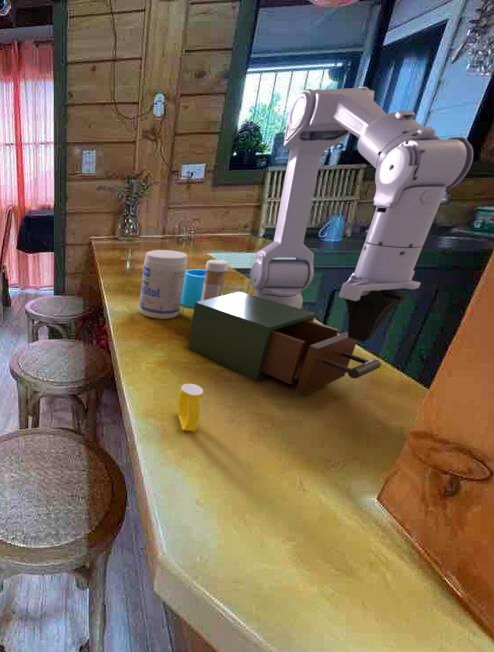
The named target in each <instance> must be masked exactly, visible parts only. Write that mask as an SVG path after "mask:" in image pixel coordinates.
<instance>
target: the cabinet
mask: <svg viewBox="0 0 494 652" xmlns="http://www.w3.org/2000/svg"><path fill="white" fill-rule="evenodd" d="M192 313H193V314H192V320H191V326H190V333H189V340H188V346H187V348H188V349H189V350H192V351H193V352H196V353H198V354H200V355H201V356H204V357H206V358H208V359H210V360H213V361H215V362H216V363H219V364H221V365H223V366H225V367H227V368H229V369H232V370H234V371H236V372H237V373H240V374H242V375H244V376H247V377H248V378H251V379H253V380H255V381H258V380H260V379H263V378H265V377H268V376H269V375H268V374H266V373H264V372H262V371H261V369H262V366H263V362H264V358H265V354H266V350H267V346H268V342H269V338H270V334H271V331H273V330H276V329H279V328H283V327H286V326H289V325H292V324H295V323H298V322H302V321H305V320H309V321H312V322H314V320H315V317H316V314H317V313H316V312H313V311H309V310H305V309H302V308H301V309H299V308H295V307H292V306H288V305H285V304H281V303H277V302H274V301H270V300H267V299H263V298H260V297H256V296H255V295H252V294H248V293H245V292H241V291H238V292H233V293H228V294H224V295H222V296H220V297H215V298H211V299H207V300H203V301H198V302H195V307H194V308H193V312H192Z"/></svg>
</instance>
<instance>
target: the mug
mask: <svg viewBox="0 0 494 652" xmlns="http://www.w3.org/2000/svg"><path fill="white" fill-rule="evenodd" d="M205 275H206V268H205V269H203V268H192V269H186V272H185V279H184V285H183V291H182V297H181V303H180V305H182V306H184V307H186V308H190V309H191V308H192V309H194V307H195V302H198V301H201V298H202V292H203V286H204V281H205Z"/></svg>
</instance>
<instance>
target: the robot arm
mask: <svg viewBox="0 0 494 652" xmlns="http://www.w3.org/2000/svg"><path fill="white" fill-rule="evenodd" d="M374 98H375V90H372V89H369V87H368V86H359V87H352V88H351V87H350V88H331V89H330V88H329V89H311V88H306V89H304V90H303V91H301V92H300V93H299V95H298V96H297V97H296V98H295V100H294V101H293V103H292V105H291V107H290V109H289V111H288V114H287V120H286V127H285V131H284V138H283V139H284V141H283V147H284V148H286V149H287V150H288V151H289V153H288V158H287V164H286V170H285V176H284V181H283V186H282V192H281V198H280V203H279V209H278V214H277V221H276V225H275V231H274V237H273V241H272V242H271V243H269V244H267V245H266V246H265V247H263V248H262V249H259V250H258V251H257V252H256V254H255V257H254V261H253V264H252V265H251V268H250V272H249V280H250V284H251V286H252V288H253V289H255V295H254V296H256V297H260V298H263V299H267V300H270V301H274V302H277V303H281V304H285V305H288V306H292V307H295V308H299V309H302V307H303V303H304V299H303V296H302V291H304V290H306V289H307V288H308V287H309V286H310V285H311V283H312V281H313V279H314V274H315V270H314V269H315V267H314V258H315V253H314V252H313V251H312V250H311V249H309V247H307V246H306V245H305V244H304V242H305V238H306V237H305V236H306V232H307V227H308V221H309V216H310V213H311V212H310V211H311V207H312V202H313V198H314V193H315V187H316V182H317V177H318V173H319V167H320V162H321V159H322V158H321V157H322V155H323V154H324V152H326V151H327V149H329V148H332V147H334V146H336V145H338V144H339V143H341V142H342V141H343V140H344V139H345V138H347V137H348V136H349V135H350V134H352V135H354V136H355V137H356V138H358V140H357V146H356V147H357V151H358V153H359V154H360V155H361V156H362V157H363V158H364V159H365V160H367V162H368V163H369V164H370V165H371V166H372V167H373V168H375V169H376V170H375V175H374V182H375V187H376V188H375V194H374V197H373V200H372V201H373V205H374V206H376V207H375V211H374V214H373V217H372V219H371V222H370V225H369V229H368V231H367V234H366V237H365V240H364V243H363V246H362V249H361V251H360V255H359V257H358V261H357V264H356V267H355V269H354V272H352V273H351V275H350V276H349V278H348V280H347V281H345V282H343V283H342V285H341V288H340V292H339V294H338V297H339V298H341V299H344V301H345V304H346V308H347V332H348V337H349V338H352V339H355V340H357V342H361V343H364V342H367V341H369V340H370V339H371V338H372V337H373V335H374V334H375V333H376V331H377V330H378V328H379V327H380V326H381V324H382V323H383V321H384V320H385V319H386V317H387V316H389V314H390V313H391V312H392V311H393V310H394V309H395V308H396V307H397V306H398V305H399V304H401V303H402V302H404V300H405V301H406V299H407V296H408V294H407V293H405V292H404V291H403V292H402V291H398V290H402V289H406V290H416V289H419V288H420V286H421V282H420V281H417V280H413V277H414V275H415V272H416V271H415V270H414V269H415V267H416V264H417V262H418V259H419V257H420V254H421V251H422V249H423V247H424V244H425V242H426V239H427V238H428V234H429V232H430V230H431V227H432V224H433V222H434V220H435V217H436V214H437V213H438V209H439V208H440V205H441V202H442V200H443V198H444V195H445V192H446V191H448V190H451V189H452V188H454V187H455V186H456V185H458V184H459V183H460V182H461V181H462V180H463V179H464V178H465V177H466V175H467V174H468V172H469V170H470V169H471V166H472V164H473V160H474V148H473V146H472V144H471V143H470V142H469V141H468V139H467V138H466V137H464V136H453V137H449V138H445V139H444V138H441V137H439V136H438V135H437V134H435V133H436V130H435V128H433V127H432V126H426V127H425V126H424V125H422V124H421V123H419V122H418V121H417V120H415V119H414V117H415V116H416V113H415V112H414V111H413V110H398V111H394V112H390V113H386V112H385V110H383V109H382V108H381V106H380V105H378V104H377V102H376V101H375V100H374Z"/></svg>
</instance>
